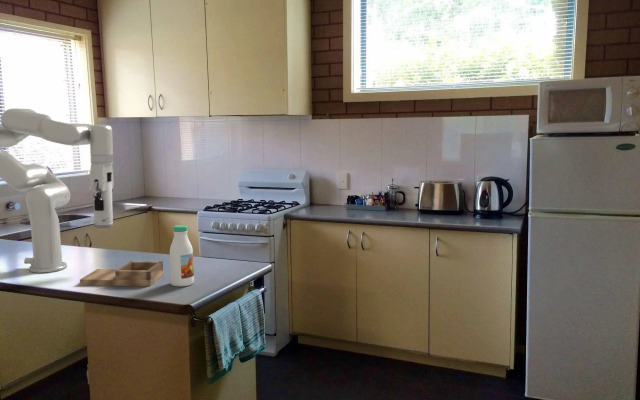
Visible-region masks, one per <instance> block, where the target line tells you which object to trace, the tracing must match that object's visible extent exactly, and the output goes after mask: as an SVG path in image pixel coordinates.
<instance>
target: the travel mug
mask: <svg viewBox="0 0 640 400" xmlns="http://www.w3.org/2000/svg"><path fill="white" fill-rule="evenodd" d="M111 174H112V172H109V173H107V185H106V191H104V192H103V199H102V200H104V210H103V211H95V208H94V207H93V215H94V216H93V218H94V219H93V220H94V221H93V222H94V228H96V229H109V228H112V227H113V226H114V222H113V221H114V217H113V215H114V214H113V191H112V183H111V182H112V181H111ZM97 191H101V189H97ZM99 195H100V193H99Z"/></svg>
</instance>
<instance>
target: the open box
mask: <svg viewBox="0 0 640 400" xmlns="http://www.w3.org/2000/svg"><path fill="white" fill-rule="evenodd" d="M163 263H164V261H147V260H146V261H142V260H141V261H137V260H136V261H135V260H134V261H132V260H131V261H129V262H127V263H126V264H124V265H122V266H121V267H119V268H118V269H117V268H115V269H113V268H110V269H109V268H104V269H102V268H99V269H98V268H97V269H95V270H94V271H91V272H90V273H88V274H87V275H85V276H84V277H82V278H80V279H79V285H80V286H106V287H107V286H108V287H110V286H115V287H117V286H118V287H120V286H121V287H122V286H123V287H128V286H129V287H134V286H135V287H151V286H152V285H153V284H154V283H156V282H158V280H160V279H161V278H162V277H163V276H164V266H163V265H164V264H163Z"/></svg>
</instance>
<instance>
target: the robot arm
mask: <svg viewBox="0 0 640 400" xmlns="http://www.w3.org/2000/svg"><path fill="white" fill-rule="evenodd" d="M0 123H1V124H0V179H1V180H2V181H4V182H5V183H6V184H7V185H8V186H10V188H11V189H14V190H15V191H17V192H26V191H27V192H26V194H25V203H26V204H25V205H26V208H27V211H28V215H29V223H30V233H31V234H30V235H31V246H32V257H25V258H24V260H23V264H26V265H28V264H29V265H30V266H29V268H28V269H29V272H31V273H37V274H38V273H39V274H41V273H42V274H43V273H53V272H58V271H61V270H64V269H66V268H67V267H68V264H67V262H65V261H63V256H62V255H63V253H62V245H61V244H62V243H61V242H62V241H61V227H60V219H59V217H58V213H57V211H56V208H60V207H64V206H66V205H67V204H68V203H69V201H70V200H71V192H70V189H69V187H68V186H67V185H66V183H64V182H63V181H62V180H61V179H60V178H58V177H57V176H56V175H55V174H54V173H52V171H50V170H49V169H47V168H46V167H44V166H43V165H41V164H35V163H33V164H32V163H31V164H30V163H29V164H23V163H22V162H20V161H19V160H18V159H16V158H15V157H14V156H13V155H12V154H11V153H9V152H7V151H5V150H3V148H4V149H5V148H12V147H14V146H16V145H18V144H19V143H20V142H22V141H23V140H25V139H26V138H28V137H29V136H32V137H36V138H40V139H42V140H45V141H48V142H51V143H54V144H55V143H56V144H60V145H64V146H84V145H85V146H86V145H89V147H90V149H89V151H90V164H91V165H90V168H89V169H90V170H89V191H90V192H91V193H92V196H93V209H94V208H95V211H103V210H104V200H102V199H103V192H104V191H106V185H107V173H109V172H112V174H111V181H112V182H111V183H112V192H113V191H114V190H113V189H114V188H115V187H114V184H115V180H114V179H115V178H114V169H113V168H114V167H113V164H114V147H113V144H114V143H113V140H114V139H113V128H112V126H111V125H107V124H90V123H68V122H61V121H57V120H54V119H52V118H51V116H49V115H48V114H44V113H40V112H36V111H35V110H33V109H30V108H9V109H6V110H5V111H3V113H2V114H1V116H0ZM97 189H101V191H97ZM99 193H100V195H99Z"/></svg>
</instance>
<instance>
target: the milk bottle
mask: <svg viewBox="0 0 640 400" xmlns="http://www.w3.org/2000/svg"><path fill="white" fill-rule="evenodd" d="M172 229H173V230H172V231H173V240H172V241H171V244H170V248H169V271H170V273H169V274H170V285H171V286H173V287H187V286H191V285H194V283H195V269H194V268H195V267H194V249H193V245H192V243H191V242H190V239H189V236H188V225H185V224H177V225H174V226H172Z"/></svg>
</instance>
